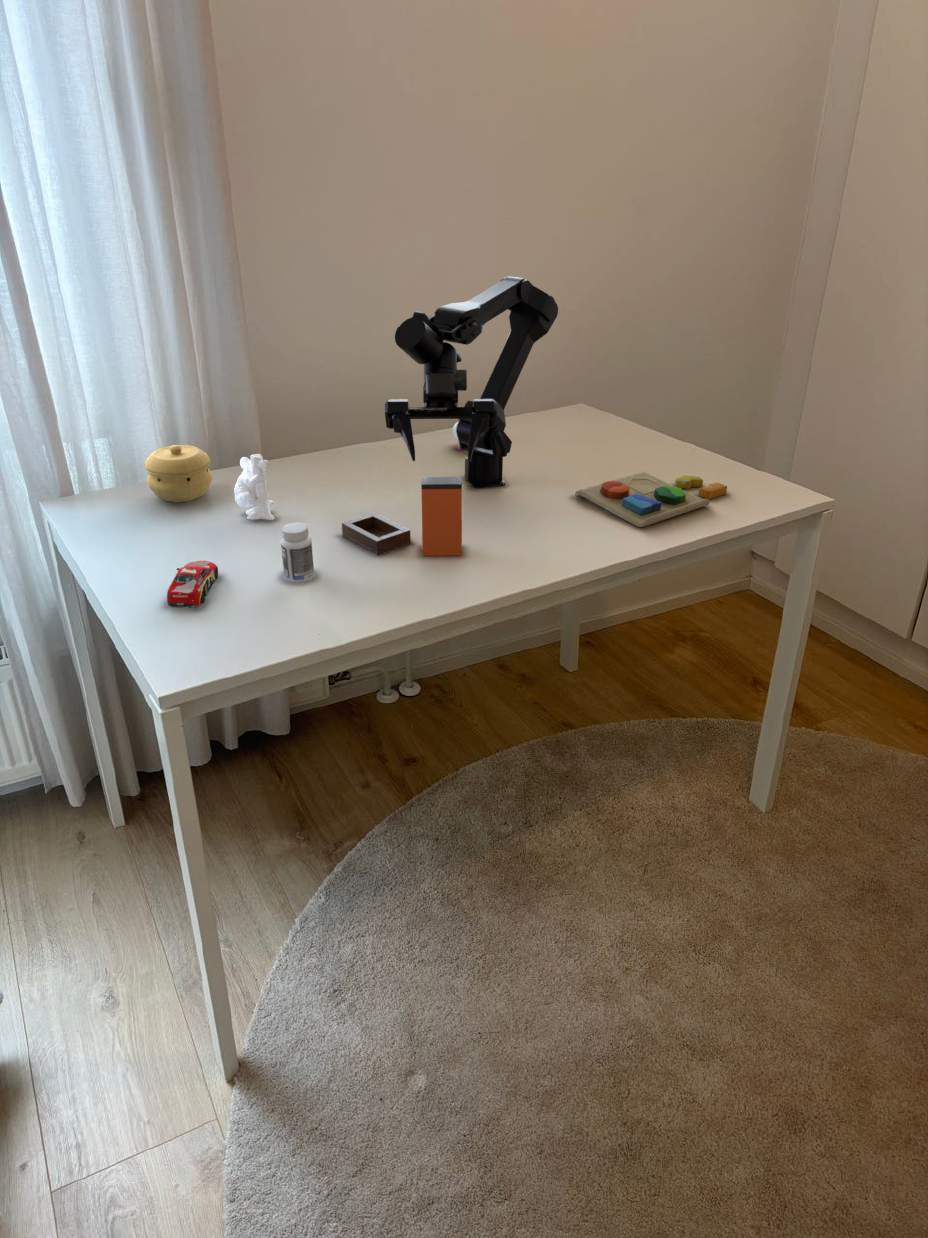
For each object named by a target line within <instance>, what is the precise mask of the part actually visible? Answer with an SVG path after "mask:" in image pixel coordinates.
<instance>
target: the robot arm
mask: <svg viewBox="0 0 928 1238" xmlns="http://www.w3.org/2000/svg"><path fill="white" fill-rule="evenodd" d="M507 310H508V311H509V314H508V320H509V321H508V322H509V327H510V328H509V329H510V331H509V334H508V336H507V338H506V341H505V343H504V345H503V347H502V350H501V352H500V354H499V356H498V359H497V361H496V363H495V364H494V367H493V369H492V371H491V374H490V375H489V378H488V380H487V382H486V384H485V387H484V389H483V391H482V394H481V396H480V397H479V398H473V400H467V401H466V402H465V404H464V406H459V405H458V404H459V392H460V391H465V392H466V391H467V390H468V381H467V380H468V372H467V371H468V370H467V369H458V363H461V362H462V357H461V355H460V353H458V351H457V349H456V348H455V347H454V346H453V345H452V344H451V343H454V344H460V345H465V346H467V345H470V344H472V343H473V342H474V341H475V340H476V339H477V338H478V337H479V336H480V335H481V334H482V332H483V327H484V325H486V324H488V322H490V321H491V320H493V319H495V318H496V317H498V316H500V315H502V314H503V313H504V312H506V311H507ZM558 315H559V306H558V304H557V302H556V299H555V298H554V297H553V296H552V295H549V293H547V292H545V291H544V290H542V289H541V288H538V287H536V286H535V285H534V284H533V283H532V282H531V281H530V280H528V279H527V278H525V277H524V278H523V277H517V276H510V275H508V276H505V277H502V279H501V280H500V281H499V282H498V283H496V284H494V285H493V286H491V287H489V288H487V289H486V290H484V291H481V292H480V293H478V294H477V295H475V296H474V297H472V298H471V299H469V300H466V301H463V302H460V301H459V302H451V303H448V304H444V305H441V306H439V307H438V308H437V309H436V310H435V311H434V314H432V315H431V316H430V317H429V316H428V315H427V313H425V312H422V311H414V312H413V314H412V317H408V318H407V319H405V320H404V321H403V322H401V324H400V325H399V326H397V328H396V329H395V332H394V342H395V344H396V346H397V347H398V348H399V349H400V350H401V351H403V352H404V354H406V355H407V356H408V357H409V358H411V359H412V360H413V361H414V362H415V363H417V364H419V365H423V386H422V399H423V401H422V402H423V406H410V405H409V398H408V399H407V398H406V399H405V398H404V399H403V398H402V399H399V398H398V399H397V398H395V399H389V398H388V399H387V400H386V401H385V402H384V418H385V426H386V428H387V429H390V430H393V432H394V433H395V434H400V436H401V437H402V440H403V441H404V443H405V444H406V447H407V451H408V453H409V455H410V458H411V461H412V462H415V461H416V449H415V448H416V447H415V442H414V435H413V428H412V420H458V421H457V422H458V424H457V428H456V432H457V436H458V440H459V443H458V445H459V447H460V448H461V450H460V451H467V457H465V459H464V479H465V480H466V482H468V483H469V484H470V486H471V487H472V488H473V489H479V488H489V487H500V486H501V487H502V486H505V485H506V482H505V480H504V479H503V470H504V469H503V468H504V467H503V465H504V458H505V457H507V456H508V454H509V453H510V452H511V448H512V443H513V442H512V441H513V440H511V438H510V437H509V435H507V433H506V432H505V430H506V426H507V422H506V415H505V408H506V406H507V404H508V402H509V399H510V397H511V395H512V393H513V391H514V388H515V386H516V384H517V382H518V380H519V377H520V375H521V373H522V370H523V369H524V366H525V365H526V362H527V360H528V357H529V355H530V353H531V351H532V348H533V346H534V344H535V343H536V342H538V340H540V339H542V338H543V337H544V336H546V335H547V334H548V333H549V331H550V329H551V328H552V326H553V324H554V323H555V321H556V319H557V318H558Z"/></svg>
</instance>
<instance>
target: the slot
mask: <svg viewBox="0 0 928 1238" xmlns="http://www.w3.org/2000/svg"><path fill="white" fill-rule="evenodd" d="M341 532H342V533H341V534H342V538H345V539H347V540H348V541H350V542H352V543H354V544H356V545H358V546H359V547H361V548H364V549H365V550H367V551H369V552H371V553H372V554H375V555H376V556H379V555H382V554H385V553H388V552H391V551H393V550H397V549H399V548H402V547H405V546H408V545H411V542H412V541H411V529H409V528H407V527H405V526H403V525H401V524H399V523H396V522H395V521H392V520H391V519H388V518H386V517H385V516H383V515H380V514H378V513H376V512H372V513H369V514H366V515H362V516H359V517H356V518H354V519H350V520H347V521H344V522H342V523H341Z"/></svg>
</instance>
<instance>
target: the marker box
mask: <svg viewBox="0 0 928 1238" xmlns="http://www.w3.org/2000/svg"><path fill="white" fill-rule="evenodd" d="M420 481H421V484H420V485H421V487H420V488H421V490H420V491H421V532H422V533H421V535H422V536H421V540H422V541H421V543H422V548H421V549H422V556H423V557H449V556H452V557H454V556H455V557H456V556H457V557H458V556H460V557H461V556H462V551H463V550H462V547H463V546H462V544H463V482H462V476H421V480H420Z"/></svg>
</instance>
